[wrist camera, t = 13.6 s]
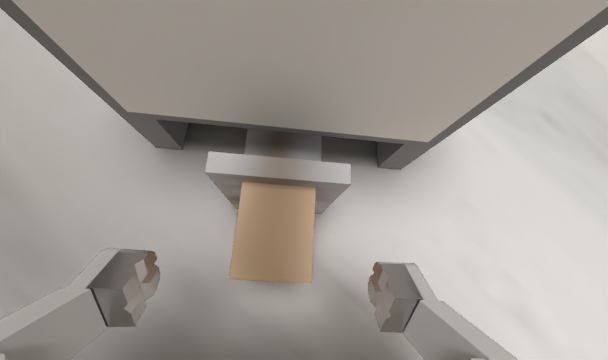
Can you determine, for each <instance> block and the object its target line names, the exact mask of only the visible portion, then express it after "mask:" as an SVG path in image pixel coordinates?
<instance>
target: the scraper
mask: <svg viewBox="0 0 608 360" xmlns="http://www.w3.org/2000/svg"><path fill="white" fill-rule="evenodd" d="M321 152H322V136H319V135H309V134H299V133H289V132H279V131H269V130H259V129H249V128H248V130H247V137H246V144H245V151H244V154H233V153H222V152H211V151H209V152H208V157H207V162H206V168H205V173H206V174H207V175H208V176H209V178H210V179H211V180H212V181H213V182H214V183H215V185H216V186H217V187H218V188H219V189H220V190H221V192H222V193H223V194H224V195H225V196H226V197H227V199H228V200H229V201H230V202H231V203H232V204H233V205H234V207H239V209H238V216H237V223H236V231H235V238H234V245H233V252H232V259H231V267H230V274H229V279H237V280H257V281H278V282H299V283H312V266H313V241H314V217H315V213H322V212H323V211H324V210H325V209H326V208H327V207H328V206H329V205H330V204H331V203H332V202H333V201H334V200H335V199H336V198H337V197H338V196H339V195H340V194H341V193H343V192H344V191H345V190H346V189H347V188H348V187H349V186H350V185H351V164H343V163H332V162H321Z"/></svg>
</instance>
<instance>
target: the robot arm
mask: <svg viewBox="0 0 608 360" xmlns="http://www.w3.org/2000/svg"><path fill="white" fill-rule="evenodd" d="M156 260H157V257H156V254H155V252H153V251H145V250H131V249H114V248H107V249H104V250H102V251H101V252H100V253H99V254H98V255H97V256H96V257H95V258H94V259H93V261H92V262H91V263H90V264H89V265H88V266H87V267H86V268H85V269H84V270H83V271H82V272H81V273H80V274H79V275H78V276H77V277H76V278H75V279H74V280H73V281H72V282H71V283H70V284H69V285H68V286H67V287H66V288H59V289H58V290H56V291H54V292H52V293H50V294H48V295H46V296H44V297H42V298H40V299H38V300H36V301H34V302H32V303H31V304H29V305H27V306H25V307H23V308H21V309H19V310H17V311H15V312H13V313H11V314H9V315H7V316H5V317H3V318H2V319H0V360H69V359H70V358H71V357H73V356H74V355H75V354H76V353H78V352H79V351H80V350H81V349H82V348H84V347H85V346H86V345H87V344H89V343H90V342H91V341H92V340H93V339H95V338H96V337H97V336H98V335H99V334H101V333H102V332H103V331H104V330H106V329H107V327H129V326H136V324H137V323H138V321H139V319H140V317H141V316H142V314H143V312H144V311H145V309H146V303H145V301H146V300H147V299H149V298H150V297H152V296H153V295H154V293H155V291H156V289H157V287H158V284H159V280H160V270H159V267H157V266H156V265H155V264H154V263H155V261H156ZM373 271H374V274H373V275H372V276H371V277H370V278H369V282H368V294H369V298H370V302H371V303H372V304H373V305H374V306H375V307H376V311H375V313H374V314H375V317H376V320H377V323H378V326H379V330H380V332H399V333H403V335H404V336H405V337H406V338H407V340H408V341H409V342H410V343H411V344H412V345H413V347H414V348H415V349H416V350H417V351H418V352H419V354H420V355H421V356H422V357H423V358H424V359H425V360H517V358H516V357H514V356H513V355H512V354H511V353H509V352H508V351H507V350H505V349H504V348H503V347H501V346H500V345H499V344H498V343H496V342H495V341H494V340H492V339H491V338H490V337H488V336H487V335H486V334H485V333H483V332H482V331H481V330H479V329H478V328H477V327H476V326H474V325H473V324H472V323H470V322H469V321H468V320H466V319H465V318H464V317H463V316H461V315H460V314H459V313H457V312H456V311H455V310H453V309H452V308H451V307H450V306H448V305H447V304H446V303H444V302H443V301H438V299H437V298H436V296H435V294H434V293H433V291H432V289H431V288H430V286H429V284H428V283H427V281H426V279H425V278H424V276H423V274H422V273H421V271H420V269H419V268H418V266H417V265H416V264H415V263H395V262H376V263H375V264H374V267H373Z"/></svg>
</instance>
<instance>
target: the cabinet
mask: <svg viewBox="0 0 608 360" xmlns="http://www.w3.org/2000/svg"><path fill="white" fill-rule="evenodd" d="M0 8H1V9H2V10H3V11H5V12H6V13H7V14H8V15H9V16H10V17H11V18H12V19H13V20H15V21H16V22H17V23H18V24H19V25H20V26H21V27H22V28H23V29H25V30H26V31H27V32H28V33H29V34H30V35H31V36H32V37H34V38H35V39H36V40H37V41H38V42H39V43H40V44H41V45H42V46H44V47H45V48H46V49H47V50H48V51H49V52H50V53H51V54H52V55H54V56H55V57H56V58H57V59H58V60H59V61H60V62H61V63H63V64H64V65H65V66H66V67H67V68H68V69H69V70H70V71H71V72H73V73H74V74H75V75H76V76H77V77H78V78H79V79H80V80H81V81H83V82H84V83H85V84H86V85H87V86H88V87H89V88H90V89H92V90H93V91H94V92H95V93H96V94H97V95H98V96H99V97H100V98H102V99H103V100H104V101H105V102H106V103H107V104H108V105H109V106H110V107H112V108H113V109H114V110H115V111H116V112H117V113H118V114H119V115H120V116H122V117H123V118H124V119H125V120H126V121H127V122H128V123H129V124H131V125H132V126H133V127H134V128H135V129H136V130H137V131H138V132H139V133H141V134H142V135H143V136H144V137H145V138H146V139H147V140H148V141H149V142H151V143H152V144H153V145H154V146H155V147H158V148H169V149H180V150H182V149H183V145H184V141H185V136H186V132H187V127H188V123H199V124H209V125H219V126H229V127H239V128H249V129H259V130H269V131H279V132H289V133H299V134H309V135H319V136H329V137H339V138H349V139H359V140H369V141H377V159H378V168H389V169H400V170H401V169H402V168H403V167H405V166H406V165H408V164H409V163H411V162H412V161H413V160H415V159H416V158H418V157H419V156H421V155H422V154H423V153H425V152H426V151H428V150H429V149H430V148H432V147H433V146H435V145H436V144H438V143H439V142H440V141H442V140H443V139H445V138H446V137H448V136H449V135H450V134H452V133H453V132H455V131H456V130H458V129H459V128H460V127H462V126H463V125H465V124H466V123H468V122H469V121H470V120H472V119H473V118H475V117H476V116H478V115H479V114H480V113H482V112H483V111H485V110H486V109H488V108H489V107H490V106H492V105H493V104H495V103H496V102H498V101H499V100H500V99H502V98H503V97H505V96H506V95H508V94H509V93H510V92H512V91H513V90H515V89H516V88H517V87H519V86H520V85H522V84H523V83H525V82H526V81H527V80H529V79H530V78H532V77H533V76H535V75H536V74H537V73H539V72H540V71H542V70H543V69H545V68H546V67H547V66H549V65H550V64H552V63H553V62H555V61H556V60H557V59H559V58H560V57H562V56H563V55H565V54H566V53H567V52H569V51H570V50H572V49H573V48H575V47H576V46H577V45H579V44H580V43H582V42H583V41H585V40H586V39H587V38H589V37H590V36H592V35H593V34H595V33H596V32H597V31H599V30H600V29H602V28H603V27H605V26H606V25H607V24H608V0H0Z"/></svg>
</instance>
